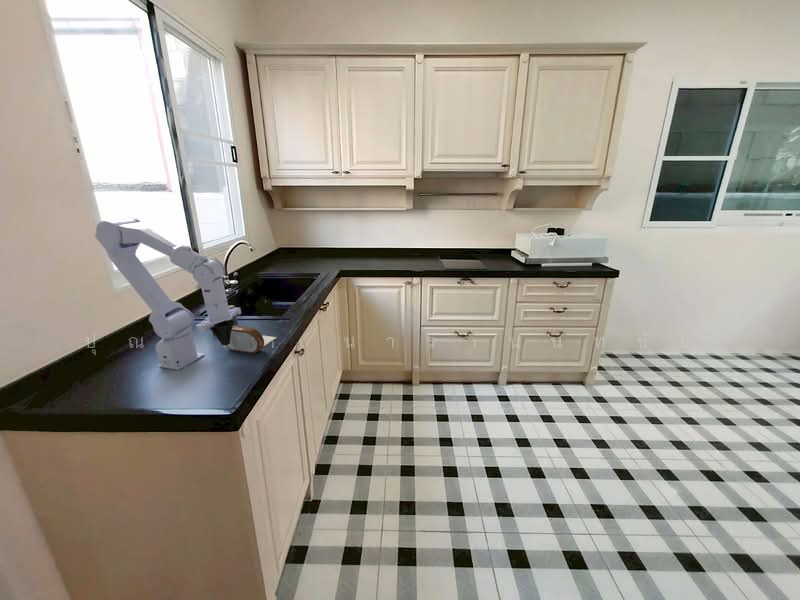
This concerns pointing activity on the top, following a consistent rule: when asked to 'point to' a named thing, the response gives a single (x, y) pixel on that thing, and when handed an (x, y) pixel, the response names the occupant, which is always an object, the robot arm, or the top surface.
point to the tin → (245, 339)
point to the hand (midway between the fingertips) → (225, 344)
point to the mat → (268, 339)
